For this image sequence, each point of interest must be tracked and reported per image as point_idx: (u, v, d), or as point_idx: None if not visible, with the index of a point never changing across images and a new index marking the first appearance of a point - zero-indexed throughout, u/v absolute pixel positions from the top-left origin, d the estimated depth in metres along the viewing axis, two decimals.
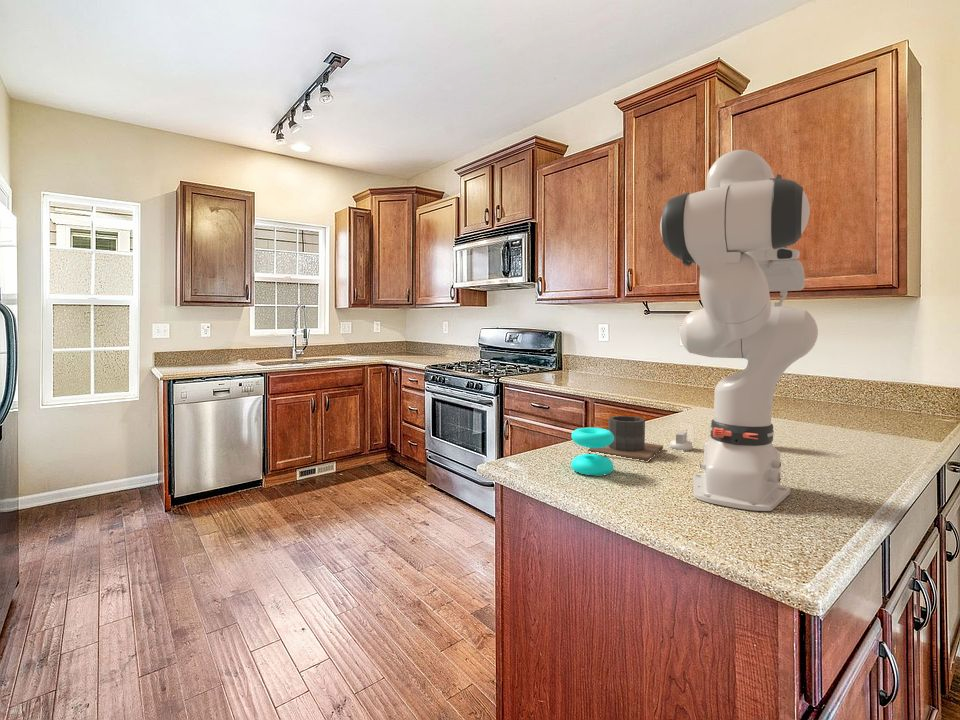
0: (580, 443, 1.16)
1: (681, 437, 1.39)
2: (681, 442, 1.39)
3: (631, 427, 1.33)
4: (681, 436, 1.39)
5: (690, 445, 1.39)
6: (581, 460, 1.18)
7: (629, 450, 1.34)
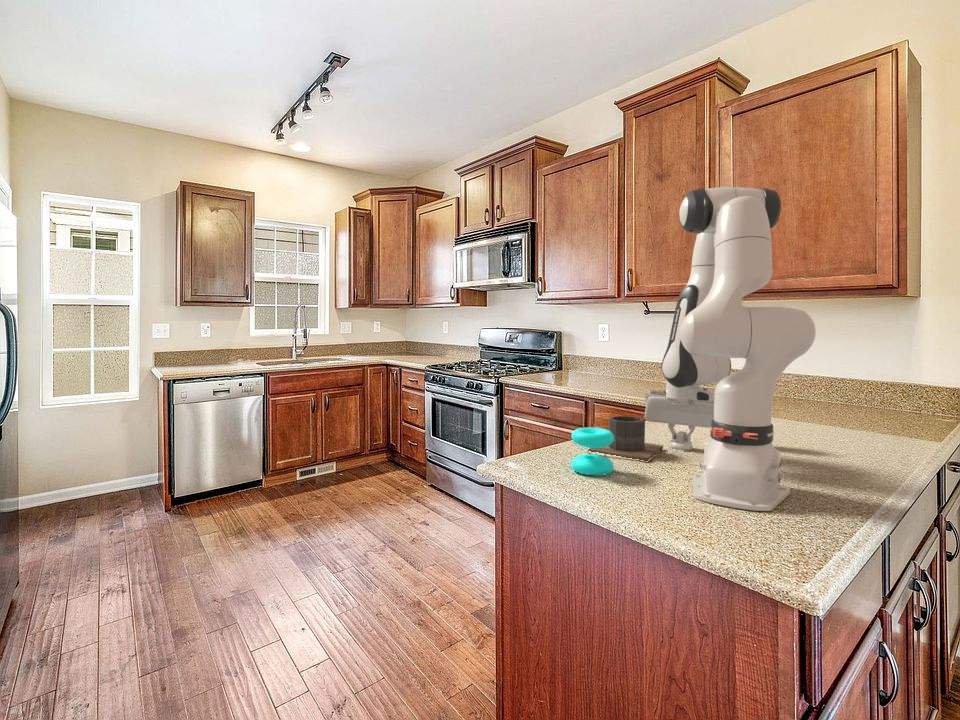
0: (580, 443, 1.16)
1: (681, 437, 1.39)
2: (681, 442, 1.39)
3: (631, 427, 1.33)
4: (681, 436, 1.39)
5: (690, 445, 1.39)
6: (581, 460, 1.18)
7: (629, 450, 1.34)
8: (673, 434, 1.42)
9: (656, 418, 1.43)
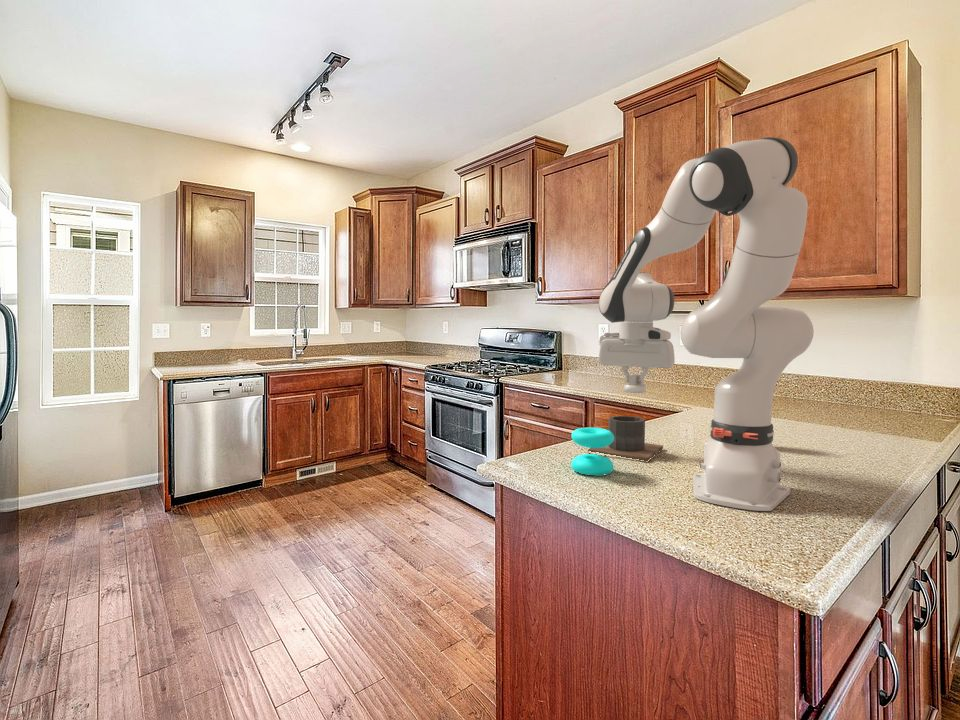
0: (580, 443, 1.16)
1: (634, 378, 1.35)
2: (634, 383, 1.35)
3: (631, 427, 1.33)
4: (634, 377, 1.35)
5: (643, 386, 1.35)
6: (581, 460, 1.18)
7: (629, 450, 1.34)
8: (626, 377, 1.38)
9: (610, 361, 1.39)
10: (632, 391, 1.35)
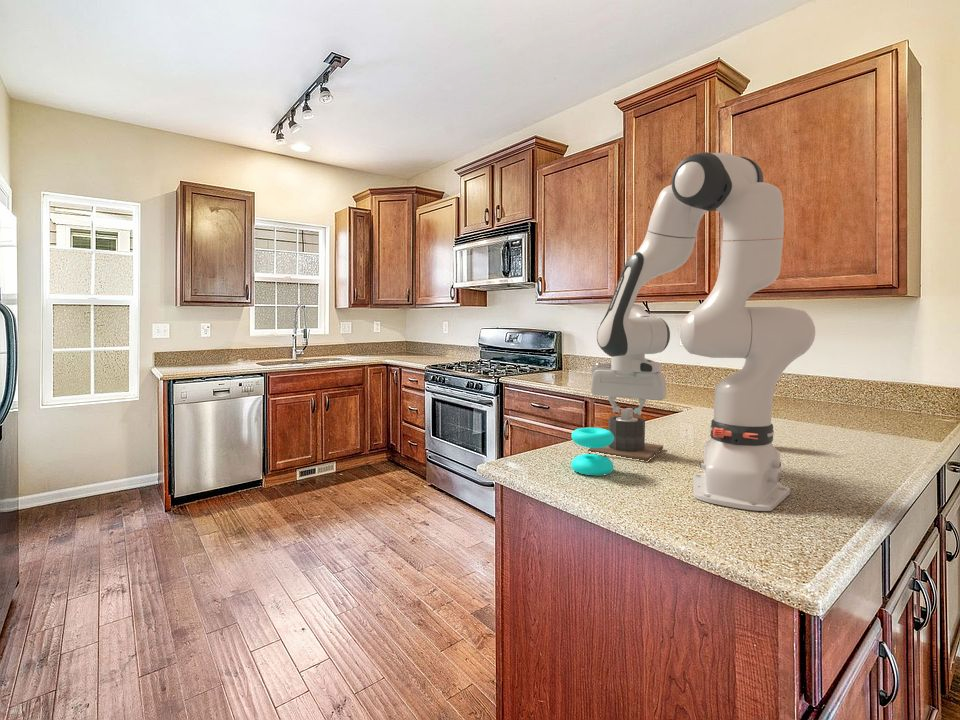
0: (580, 443, 1.16)
1: (626, 413, 1.35)
2: (626, 418, 1.35)
3: (631, 427, 1.33)
4: (626, 412, 1.35)
5: None
6: (581, 460, 1.18)
7: (629, 450, 1.34)
8: (614, 407, 1.39)
9: (602, 391, 1.39)
10: None
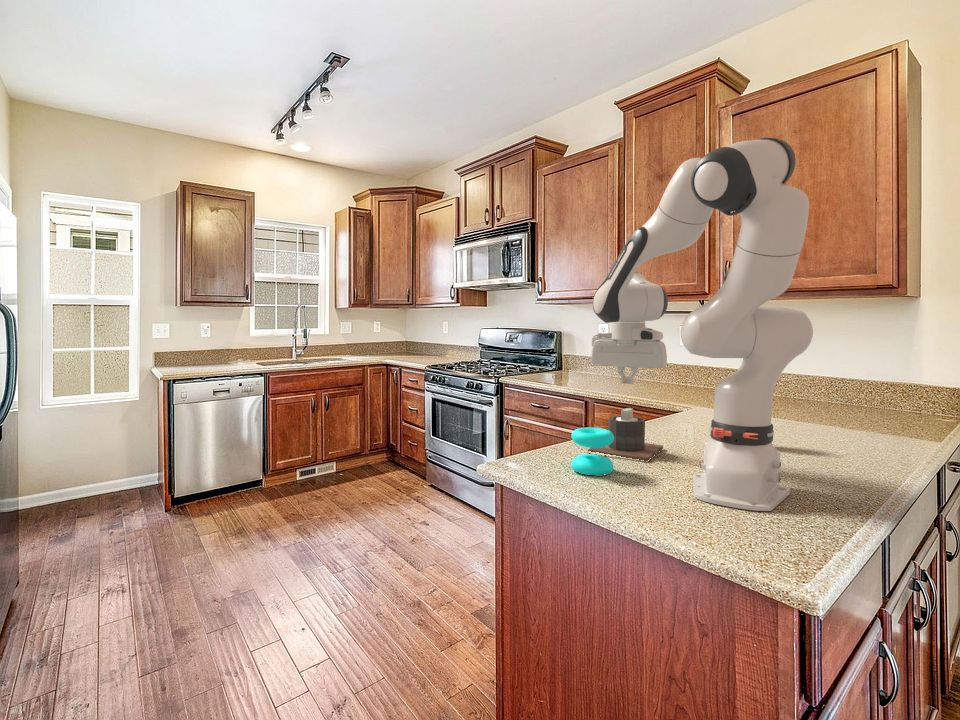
0: (580, 443, 1.16)
1: (626, 413, 1.35)
2: (626, 418, 1.35)
3: (631, 427, 1.33)
4: (626, 412, 1.35)
5: None
6: (581, 460, 1.18)
7: (629, 450, 1.34)
8: (622, 377, 1.37)
9: (602, 361, 1.39)
10: None
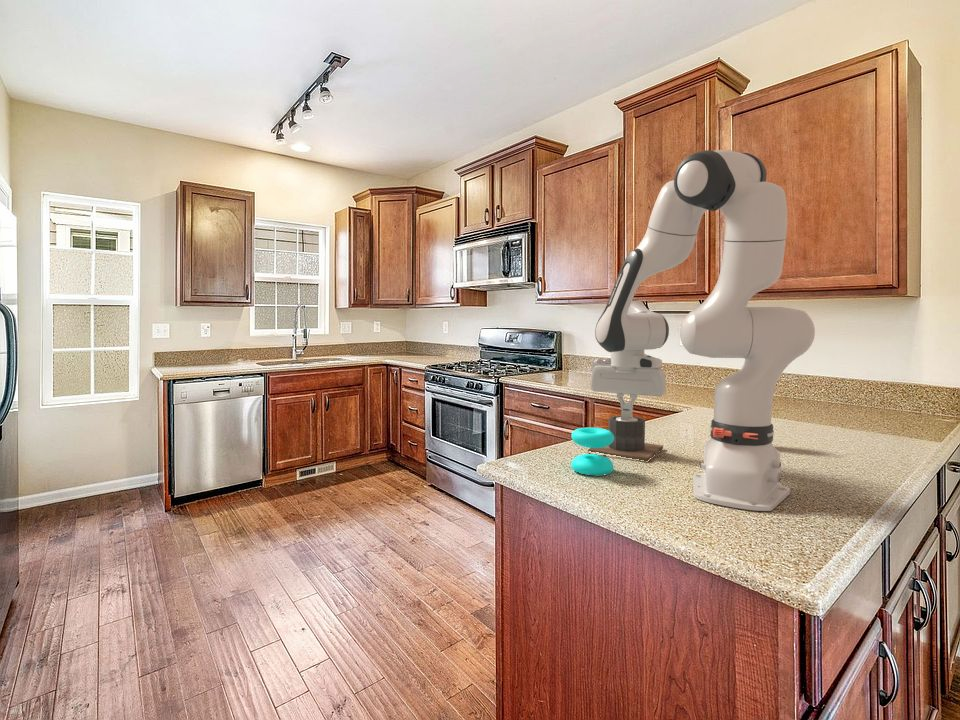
0: (580, 443, 1.16)
1: (626, 413, 1.35)
2: (626, 419, 1.35)
3: (631, 427, 1.33)
4: (626, 412, 1.35)
5: None
6: (581, 460, 1.18)
7: (629, 450, 1.34)
8: (621, 404, 1.37)
9: (602, 387, 1.39)
10: None
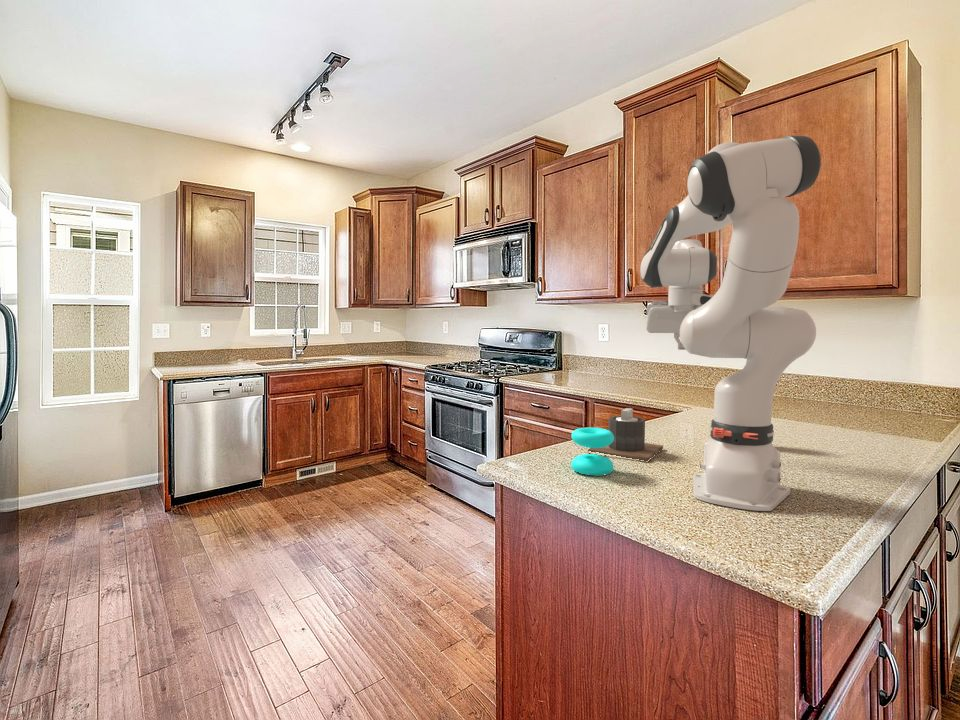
0: (580, 443, 1.16)
1: (626, 413, 1.35)
2: (626, 418, 1.35)
3: (631, 427, 1.33)
4: (626, 412, 1.35)
5: None
6: (581, 460, 1.18)
7: (629, 450, 1.34)
8: (679, 344, 1.39)
9: (658, 328, 1.40)
10: None
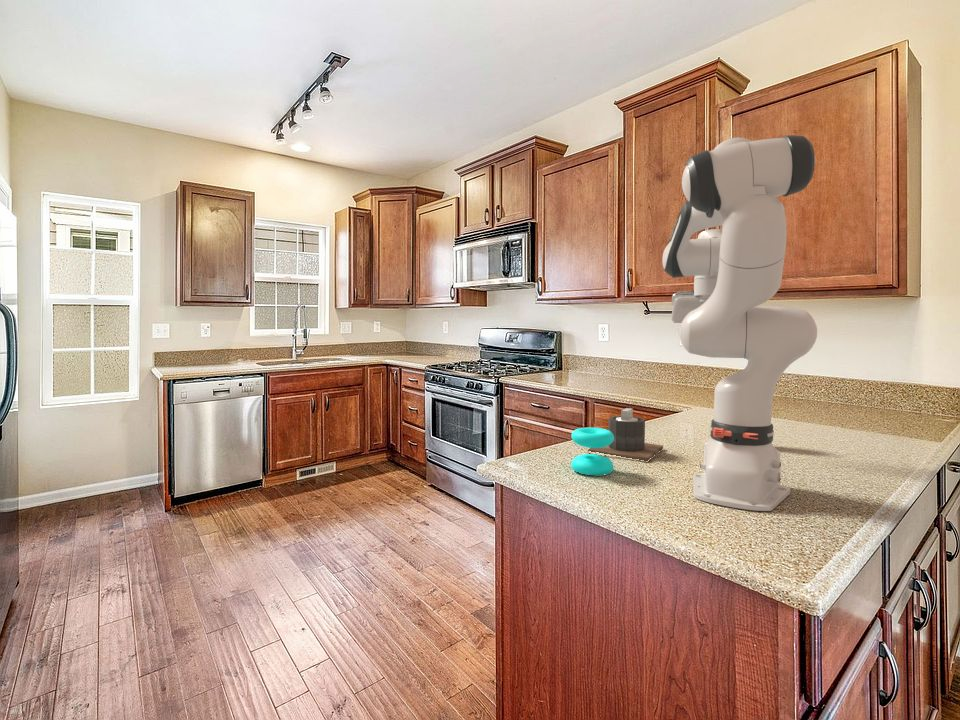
0: (580, 443, 1.16)
1: (626, 413, 1.35)
2: (626, 418, 1.35)
3: (631, 427, 1.33)
4: (626, 412, 1.35)
5: None
6: (581, 460, 1.18)
7: (629, 450, 1.34)
8: None
9: (684, 318, 1.41)
10: None
